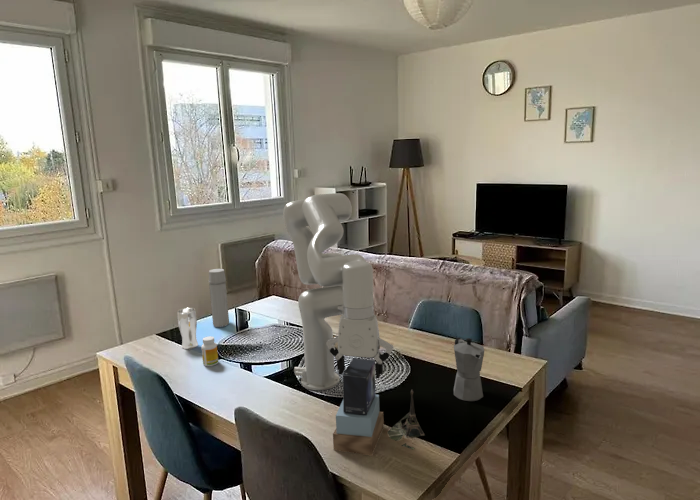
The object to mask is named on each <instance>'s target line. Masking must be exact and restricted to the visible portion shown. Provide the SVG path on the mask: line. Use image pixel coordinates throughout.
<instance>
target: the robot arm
mask: <svg viewBox="0 0 700 500" xmlns="http://www.w3.org/2000/svg"><path fill="white" fill-rule="evenodd" d="M352 212H353V207H352V202H351V200H350V199H349V197H348V196H347V195H346V194H344V193H341V192H335V193H320V194H319V193H318V194H314V195H310V196H309V197H306V198H305V199H304V198H303V199H297V200H293V201H289V202H287V203H286V204H285V205H284V207H283V214H282V215H283V223H284V226H285V229H286V231H287V233H288V235H289V238H290V239H291V243H292V245H293V249H294V257H295V261H296V268H297V272H298V277H299V281H300V282H301V284H303V285H306V286H307V285H308V286H310V285H319V286H320V287H318V288H317V287H316V288H312V289H307V290H305V291H303V292H301V293H300V294H299V297H298V303H297V304H298V308H299V313H300V318H301V323H302V324H301V325H302V336H303V350H304V351H303V352H304V354H303V355H304V366H303V367H301V366H294V369H293V372H294V375H295V376H297V377H298V376H301V379H300V380H301V381H300V382H301V386H302V387H304V388H305V389H307V390H310V391H326V390H330V389H332V388H335V387H336V386H337V385H339V383H340V379H341V378H340V375H343V374H344V372H345V370H346V369H345V368H346V366H345V364H346V362H345V361H346V359H345V357H354V358H363V359H364V358H365V359H367V358H368V359H374V361H375V379H377V380H378V379H379V378H380V376H381V375H383V374H384V373H383V372H384V363H383V362H385V361H386V360H387V359H388V358H389V356H391V353H392V351H393V349H394V345H393V344H391V343H390V342H387V341H386V340H384V339H382V338H381V337H380V329H379V322H378V319H377V318H378V317H377V315H376V314H375V313H374V311H375V310H374V309H375V308H374V306H375V305H374V269H373V266H372V264H371V263H370V262H368V261H367V260H366V259H365V258H364V256H363V255H361V254H358V253H353V254H345V255H342V254H341V253H339V252H327V253H326V252H325V251H327V250H328V249H330V248H331V247H333V246H335V245H336V244H338V243H339V242H340V241H341V239H342V238H343V235H344V226H343V225H342V223H343V222H346V221H349V219H350V218H351V217H352V214H353V213H352ZM323 252H325V253H323ZM335 316H336V317H337V316H339V321H338V330H337V331H338V333H337V335H336V336H335V337H334V338H333V336H334V331H333V328H332V326H331V325H330V324H329V323H328V322H327V320H325V319H327V318H330V317H335ZM337 342H338V349H337V348H336V347H334V345H335V343H337ZM381 347H382V348H384V349H385V351H384V352H383V353H382V352H381V351H380V348H381ZM335 361H336V370H338V373H336V372H335Z"/></svg>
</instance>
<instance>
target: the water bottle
mask: <svg viewBox="0 0 700 500" xmlns="http://www.w3.org/2000/svg"><path fill="white" fill-rule="evenodd" d="M227 281H228V280H227V279H226V274H225V269H223V268H214V269H209V271H208V281H207V282H208V286H209V296H210V304H211V305H210V307H211V308H210V309H211V317H212V325H213V327H215V328H224V327H226V326H228V325H229V324H230V317H229V307H228V296H227V295H228V294H227V284H226V282H227Z"/></svg>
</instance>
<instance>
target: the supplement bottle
mask: <svg viewBox="0 0 700 500" xmlns="http://www.w3.org/2000/svg"><path fill="white" fill-rule="evenodd" d="M202 343H203V344H202V345H201V347H200V348H201V358H202V364H203V366H205V367H213V366H216V365H218V363H219V354H218V352H219V351H218V344H217V343H216V342H215V337H214V336H210V335H209V336H205V337H203V338H202Z"/></svg>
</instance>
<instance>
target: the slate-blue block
mask: <svg viewBox="0 0 700 500" xmlns="http://www.w3.org/2000/svg"><path fill="white" fill-rule="evenodd" d="M379 412H380V394H376V393H375V398H374V400H373V402H372V404H371V407H370V409H369V411H368V413H367V415H358V414H350V413H343V400H342V401H341V403H340V405H339V408H338V410H337V412H336V414H335V427H336V428H335V429H336V433H337V434H346V435H357V436H367V437H372V434H373V431H374V428H375V425H376V421H377V418H378V415H379Z"/></svg>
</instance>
